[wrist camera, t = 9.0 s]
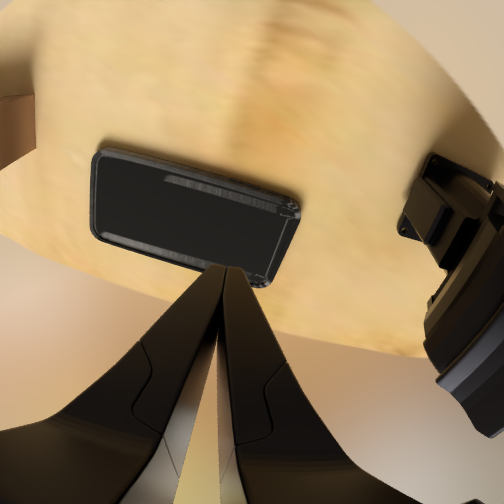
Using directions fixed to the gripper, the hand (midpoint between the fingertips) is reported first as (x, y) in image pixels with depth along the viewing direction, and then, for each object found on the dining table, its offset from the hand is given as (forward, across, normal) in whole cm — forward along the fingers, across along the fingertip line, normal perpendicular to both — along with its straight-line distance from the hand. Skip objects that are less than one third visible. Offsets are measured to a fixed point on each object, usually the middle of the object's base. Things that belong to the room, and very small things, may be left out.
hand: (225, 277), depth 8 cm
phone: (+13, +4, +6) cm, 15 cm away
